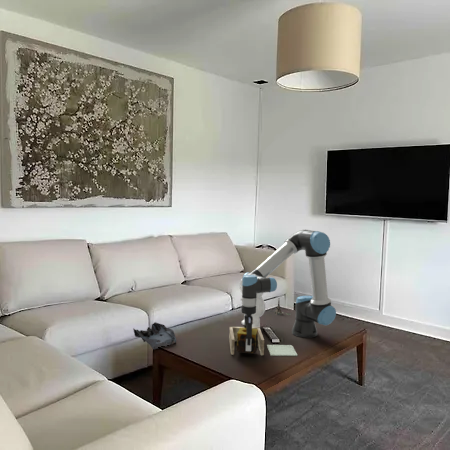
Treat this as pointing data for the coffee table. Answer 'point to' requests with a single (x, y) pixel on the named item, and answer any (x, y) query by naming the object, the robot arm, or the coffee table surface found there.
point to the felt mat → (281, 350)
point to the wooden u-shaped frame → (234, 338)
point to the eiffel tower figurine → (278, 311)
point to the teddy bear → (259, 309)
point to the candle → (242, 341)
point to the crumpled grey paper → (156, 335)
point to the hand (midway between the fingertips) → (247, 346)
